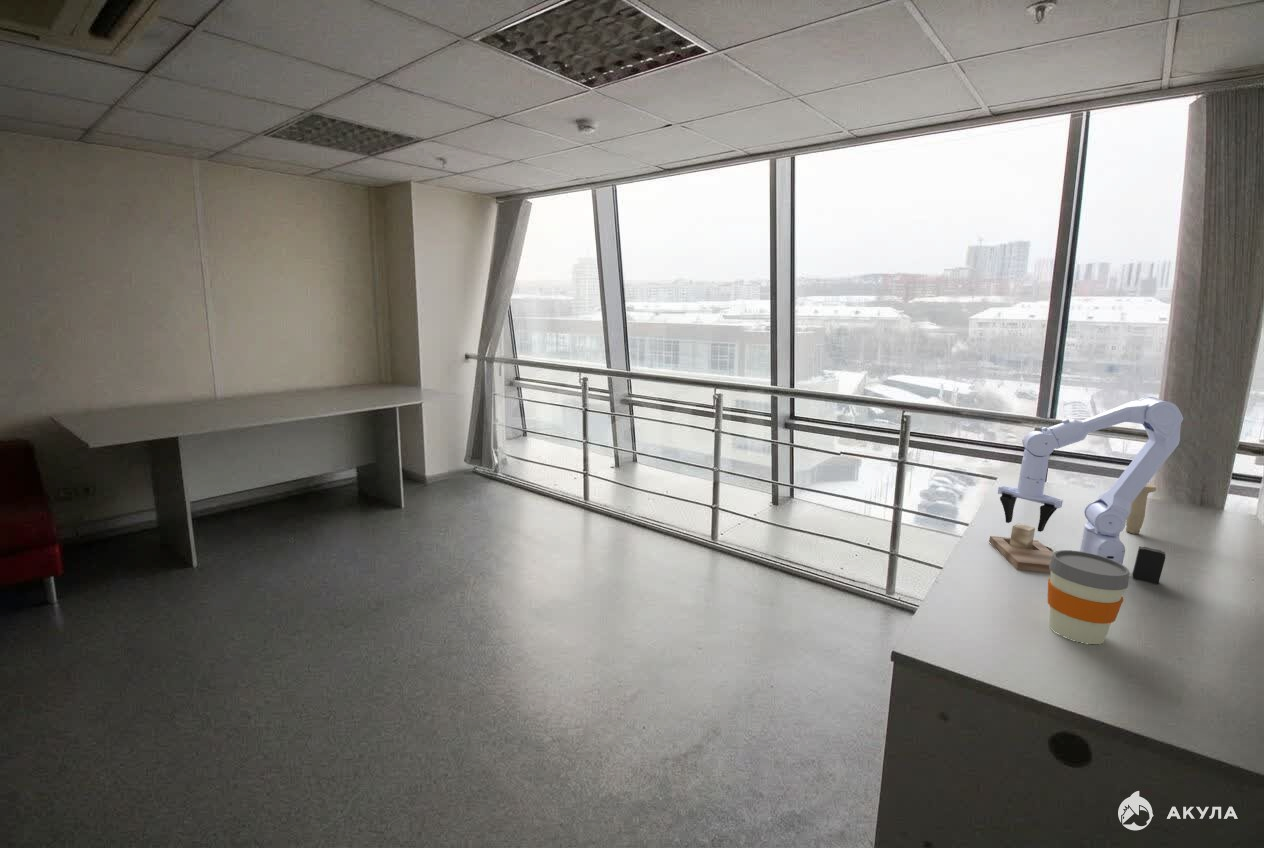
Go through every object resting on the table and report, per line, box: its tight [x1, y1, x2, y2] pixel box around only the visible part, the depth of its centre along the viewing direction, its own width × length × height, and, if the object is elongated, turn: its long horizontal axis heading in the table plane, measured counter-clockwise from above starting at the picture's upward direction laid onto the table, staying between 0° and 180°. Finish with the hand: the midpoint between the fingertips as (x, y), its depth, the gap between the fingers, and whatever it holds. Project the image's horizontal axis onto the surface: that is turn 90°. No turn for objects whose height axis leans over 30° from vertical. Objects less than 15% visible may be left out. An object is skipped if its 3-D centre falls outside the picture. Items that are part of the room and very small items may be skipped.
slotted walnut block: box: [988, 535, 1054, 574], centre depth 159 cm, size 18×12×2 cm, turn 170°
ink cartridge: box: [1131, 546, 1166, 585], centre depth 147 cm, size 5×2×8 cm, turn 52°
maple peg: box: [1010, 523, 1036, 549], centre depth 162 cm, size 4×4×7 cm
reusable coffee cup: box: [1047, 549, 1130, 645], centre depth 120 cm, size 13×13×15 cm
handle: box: [1125, 483, 1157, 535], centre depth 180 cm, size 5×6×15 cm
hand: (1024, 526), depth 162 cm, fingers open, 7 cm apart
